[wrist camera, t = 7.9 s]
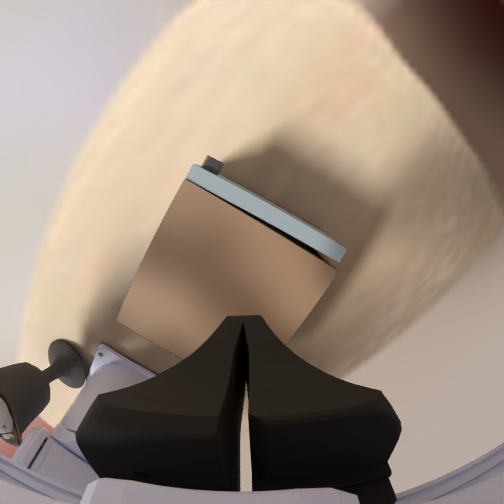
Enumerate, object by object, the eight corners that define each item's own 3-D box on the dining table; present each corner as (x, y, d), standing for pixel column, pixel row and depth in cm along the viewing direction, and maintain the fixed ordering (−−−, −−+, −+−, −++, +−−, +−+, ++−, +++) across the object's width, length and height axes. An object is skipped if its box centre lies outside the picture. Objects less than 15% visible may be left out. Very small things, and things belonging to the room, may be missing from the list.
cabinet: (248, 347, 21) (248, 390, 16) (142, 289, 20) (115, 320, 15) (317, 248, 19) (338, 271, 15) (201, 178, 18) (184, 178, 13)
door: (318, 243, 19) (339, 262, 15) (200, 178, 18) (185, 178, 13) (330, 224, 19) (354, 238, 14) (211, 157, 18) (199, 151, 13)
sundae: (94, 349, 21) (-40, 430, 6) (92, 406, 21) (-7, 493, 6) (43, 319, 21) (-82, 366, 6) (44, 375, 22) (-56, 434, 7)
